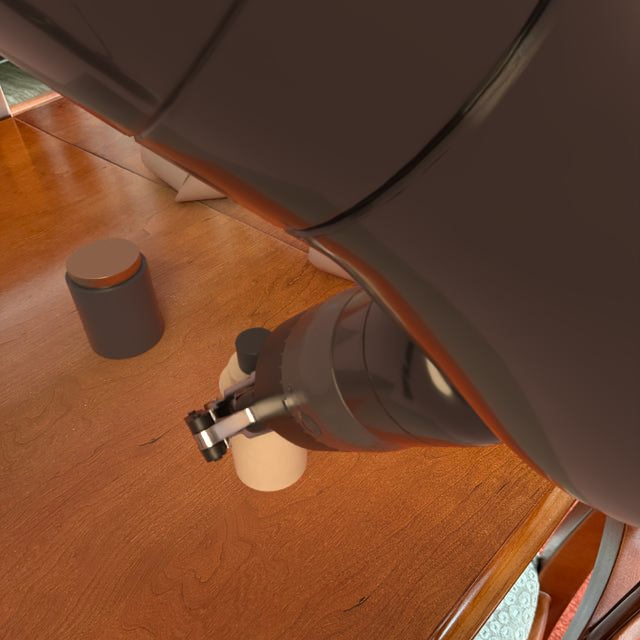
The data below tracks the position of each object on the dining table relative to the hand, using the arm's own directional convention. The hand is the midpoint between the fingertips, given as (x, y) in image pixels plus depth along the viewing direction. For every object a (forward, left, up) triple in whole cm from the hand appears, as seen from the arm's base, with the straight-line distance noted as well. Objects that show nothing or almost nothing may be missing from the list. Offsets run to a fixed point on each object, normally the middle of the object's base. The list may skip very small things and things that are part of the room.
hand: (251, 396), depth 44 cm
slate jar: (0, +32, -16) cm, 36 cm away
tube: (+31, +18, -17) cm, 40 cm away
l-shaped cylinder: (+26, +60, -17) cm, 68 cm away
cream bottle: (0, -2, -6) cm, 6 cm away
